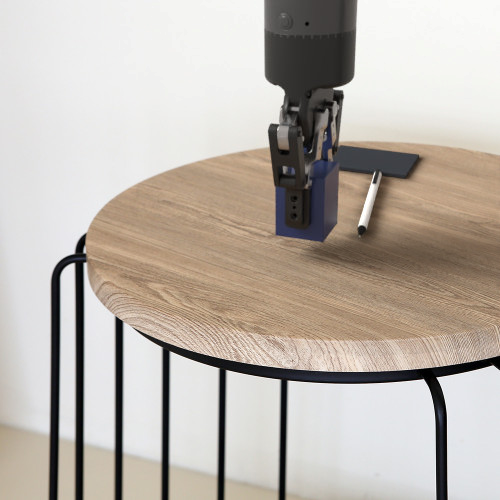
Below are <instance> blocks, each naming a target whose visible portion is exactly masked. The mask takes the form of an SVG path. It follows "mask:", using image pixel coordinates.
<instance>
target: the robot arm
mask: <svg viewBox="0 0 500 500" xmlns="http://www.w3.org/2000/svg"><path fill="white" fill-rule="evenodd" d="M263 18H264V19H263V40H264V41H263V42H264V45H263V46H264V51H263V52H264V53H263V57H264V77H265V80H266V81H267V82H268V83H269V84H271V85H273V86H275V87H279V88H281V89H282V90H283V92H284V95H283V103H282V104H281V106H280V109H279V118H278V123H272V122H271V123H270V124H269V125H268V129H267V136H268V137H267V138H268V147H269V153H270V161H271V169H272V179H273V185H274V188H275V187H281V188H285V224H286V226H287V227H290V228H296V229H303V230H305V229H307V228H308V227H309V226H310V224H311V196H312V188H311V187H312V185H313V172H314V165H315V163H317V162H319V161H320V160H323V161H332V162H333V159H332V155H335V156H336V155H337V152H338V149H339V144H340V143H339V142H340V133H341V123H342V114H343V106H344V99H345V94H344V90H342V89H336V88H340V87H343V86H347V85H348V84H350V83H351V82H352V81H353V79H354V78H355V72H356V49H357V48H356V47H357V21H358V0H263ZM292 168H294V170H295V174H291V173H292Z"/></svg>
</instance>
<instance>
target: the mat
mask: <svg viewBox="0 0 500 500" xmlns="http://www.w3.org/2000/svg"><path fill="white" fill-rule="evenodd" d="M338 147H339V149H338V152H337V155H336V156H335V155H332V159H333V162H339V171H345V172H346V171H347V172H353V173H354V172H355V173H361V174H369V175H374V172H375V171H376V169H380V170H381V173H382V177H383V176H384V177H393V178H399V179H406V178H407V177H408V175H409V174H410V172H411V171H412V169H413V168H414V166H415V164H416V163H417V161H418V160H419V158H420V154H418V153H410V152H400V151H394V150H384V149H375V148H369V147H360V146H351V145H342V144H340V145H338Z"/></svg>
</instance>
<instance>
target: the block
mask: <svg viewBox="0 0 500 500" xmlns="http://www.w3.org/2000/svg"><path fill="white" fill-rule="evenodd" d="M291 174H295V170H294V168H292V173H291ZM339 182H340V170H339V162H332V161H323V160H320V161H319V162H317V163H315V165H314V172H313V185H312V187H311V188H312V196H311V224H310V226H309V227H308V228H307V229H305V230H303V229H296V228H290V227H287V226H286V224H285V188H281V187H275V186H274V188H275V191H274V194H275V195H274V197H275V199H274V202H275V203H274V204H275V206H274V208H275V217H274V218H275V226H274V227H275V236H277V237H284V238H290V239H298V240H303V241H304V240H305V241H311V242H318V243H324V242H325V241H326V239H327V238H328V237H329V235H330V234H331V233H332V231H333V230H334V229H335V228H336V226H337V225H338V216H339V215H338V213H339V211H338V210H339V185H340V184H339Z"/></svg>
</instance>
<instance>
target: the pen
mask: <svg viewBox="0 0 500 500" xmlns="http://www.w3.org/2000/svg"><path fill="white" fill-rule="evenodd" d="M372 175H373V176H372V179H371V182H370V186H369V189H368V191H367V192H368V193H367V195H366V199H365V202H364V205H363V208H362V211H361V215H360V218H359V222H358V225H357V228H356V230H357V234H358V237H359V238H361V237H362V236H363V235H365V233H366V232H367V230H368V226H369V222H370V219H371V216H372V213H373V208H374V204H375V201H376V197H377V194H378V189H379V186H380V183H381V179H382V177H383V175H382V173H381V170H380V169H376V171H375V172H374V174H372Z"/></svg>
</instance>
